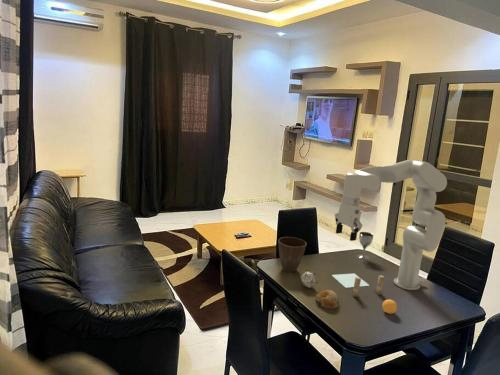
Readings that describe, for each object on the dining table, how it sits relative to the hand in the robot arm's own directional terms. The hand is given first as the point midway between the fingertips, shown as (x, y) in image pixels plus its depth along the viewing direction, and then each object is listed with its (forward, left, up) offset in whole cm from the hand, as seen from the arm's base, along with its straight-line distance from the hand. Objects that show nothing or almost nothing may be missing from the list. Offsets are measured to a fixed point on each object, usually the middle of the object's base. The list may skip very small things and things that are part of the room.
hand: (345, 236), depth 169 cm
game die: (+11, -10, -30) cm, 33 cm away
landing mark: (-15, -13, -29) cm, 35 cm away
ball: (-15, +18, -26) cm, 35 cm away
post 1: (-9, +2, -29) cm, 31 cm away
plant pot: (+12, -30, -30) cm, 44 cm away
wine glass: (-41, -40, -30) cm, 64 cm away
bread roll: (+9, +6, -30) cm, 32 cm away
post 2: (-22, +2, -29) cm, 36 cm away
